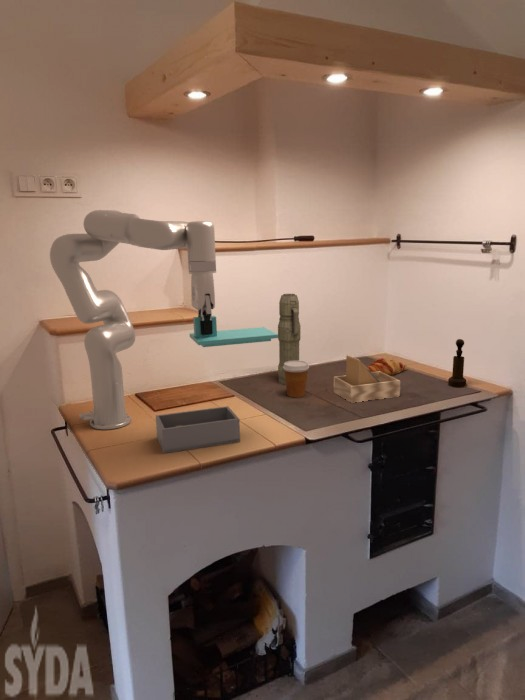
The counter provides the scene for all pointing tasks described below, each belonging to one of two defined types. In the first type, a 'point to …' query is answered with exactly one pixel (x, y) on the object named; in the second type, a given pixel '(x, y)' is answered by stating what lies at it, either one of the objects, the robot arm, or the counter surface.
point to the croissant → (387, 366)
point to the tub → (197, 429)
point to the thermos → (288, 332)
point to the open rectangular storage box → (368, 388)
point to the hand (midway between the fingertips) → (205, 333)
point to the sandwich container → (358, 373)
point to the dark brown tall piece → (458, 367)
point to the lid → (229, 335)
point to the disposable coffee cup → (296, 377)
